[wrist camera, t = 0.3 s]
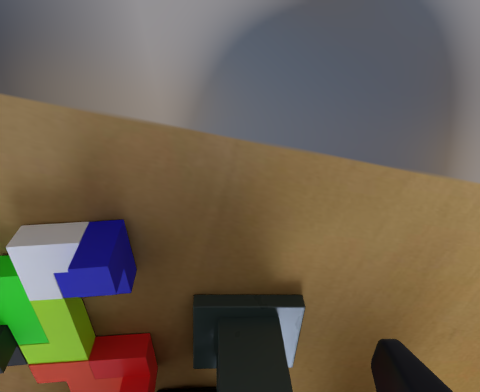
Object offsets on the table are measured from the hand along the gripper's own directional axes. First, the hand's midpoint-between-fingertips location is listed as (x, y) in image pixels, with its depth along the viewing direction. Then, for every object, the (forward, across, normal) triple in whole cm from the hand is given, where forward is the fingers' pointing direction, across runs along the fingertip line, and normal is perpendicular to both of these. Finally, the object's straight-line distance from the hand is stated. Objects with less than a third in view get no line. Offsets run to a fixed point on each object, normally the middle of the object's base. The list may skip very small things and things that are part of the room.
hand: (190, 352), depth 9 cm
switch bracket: (+14, -3, +16) cm, 22 cm away
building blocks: (+15, +11, +14) cm, 23 cm away
